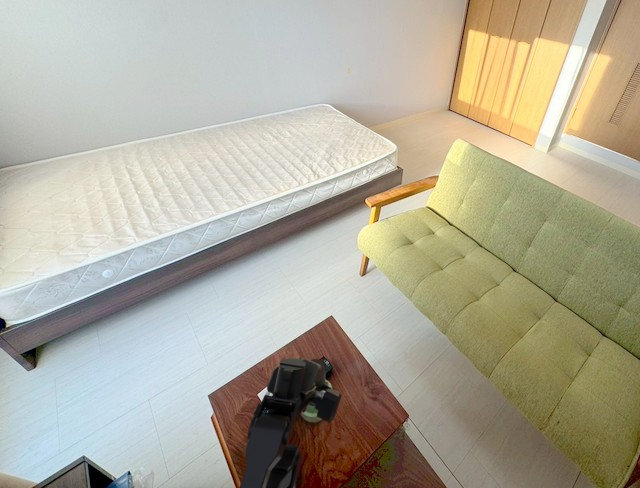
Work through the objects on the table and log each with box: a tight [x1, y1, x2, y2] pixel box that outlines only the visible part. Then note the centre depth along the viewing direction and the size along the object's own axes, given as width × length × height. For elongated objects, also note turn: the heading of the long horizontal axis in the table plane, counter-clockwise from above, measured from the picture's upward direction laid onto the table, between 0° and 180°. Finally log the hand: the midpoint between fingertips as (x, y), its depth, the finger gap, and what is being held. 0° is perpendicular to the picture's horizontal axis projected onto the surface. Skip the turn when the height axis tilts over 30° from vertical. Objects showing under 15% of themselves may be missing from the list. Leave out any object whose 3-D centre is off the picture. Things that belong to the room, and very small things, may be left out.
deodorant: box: [309, 358, 327, 406], centre depth 83 cm, size 6×6×15 cm
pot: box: [300, 379, 333, 423], centre depth 90 cm, size 10×10×4 cm
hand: (317, 379), depth 84 cm, fingers closed on deodorant, 6 cm apart
